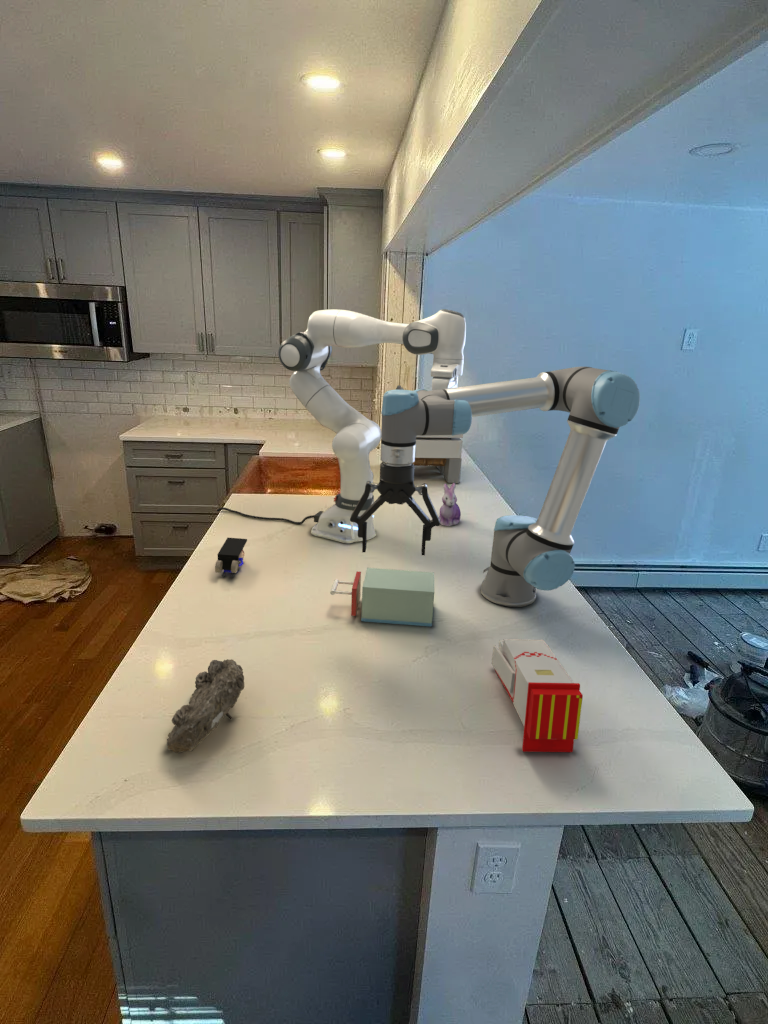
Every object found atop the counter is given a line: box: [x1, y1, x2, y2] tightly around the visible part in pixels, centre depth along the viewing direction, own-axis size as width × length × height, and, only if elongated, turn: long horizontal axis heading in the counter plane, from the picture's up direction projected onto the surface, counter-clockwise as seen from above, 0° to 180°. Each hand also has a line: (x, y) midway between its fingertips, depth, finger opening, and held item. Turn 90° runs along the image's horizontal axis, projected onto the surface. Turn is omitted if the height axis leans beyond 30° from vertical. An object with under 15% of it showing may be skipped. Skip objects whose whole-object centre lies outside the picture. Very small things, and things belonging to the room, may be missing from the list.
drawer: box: [329, 571, 362, 617], centre depth 147 cm, size 22×10×8 cm, turn 86°
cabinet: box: [360, 567, 435, 627], centre depth 146 cm, size 18×11×10 cm, turn 86°
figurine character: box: [214, 537, 248, 578], centre depth 166 cm, size 7×8×15 cm
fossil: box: [166, 658, 245, 754], centre depth 106 cm, size 22×10×15 cm
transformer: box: [395, 384, 464, 484], centre depth 268 cm, size 34×33×41 cm
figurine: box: [438, 483, 462, 527], centre depth 210 cm, size 9×10×15 cm
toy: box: [491, 638, 584, 753], centre depth 114 cm, size 12×13×30 cm
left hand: (443, 415), depth 171 cm, fingers open, 8 cm apart
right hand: (393, 551), depth 131 cm, fingers open, 13 cm apart
